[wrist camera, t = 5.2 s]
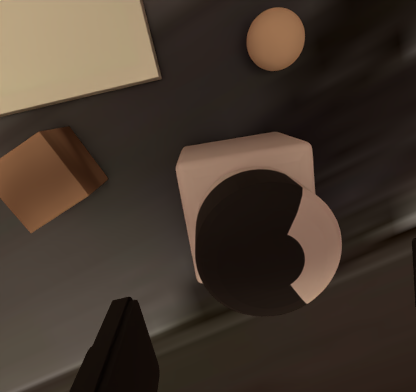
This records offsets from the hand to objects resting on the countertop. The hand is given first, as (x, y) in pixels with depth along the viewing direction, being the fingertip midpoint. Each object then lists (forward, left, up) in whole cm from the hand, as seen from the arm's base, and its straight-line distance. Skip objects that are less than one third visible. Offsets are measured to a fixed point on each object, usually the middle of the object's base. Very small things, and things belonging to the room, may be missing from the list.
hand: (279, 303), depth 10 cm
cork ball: (-9, +4, -14) cm, 17 cm away
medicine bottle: (0, 0, -14) cm, 14 cm away
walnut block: (-4, -12, -14) cm, 19 cm away
